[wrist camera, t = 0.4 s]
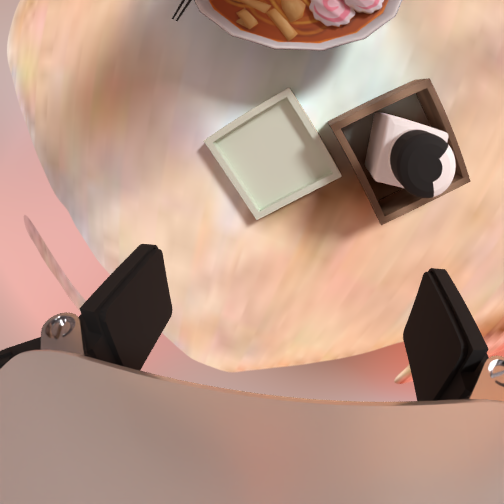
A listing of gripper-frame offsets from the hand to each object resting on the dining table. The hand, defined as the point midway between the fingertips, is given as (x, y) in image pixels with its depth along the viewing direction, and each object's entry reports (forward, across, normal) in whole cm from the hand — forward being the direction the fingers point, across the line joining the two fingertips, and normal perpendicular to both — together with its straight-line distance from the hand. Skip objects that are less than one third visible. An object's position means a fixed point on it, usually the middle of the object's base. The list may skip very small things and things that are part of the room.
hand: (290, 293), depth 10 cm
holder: (+29, -11, -2) cm, 31 cm away
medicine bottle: (+29, -11, -2) cm, 31 cm away
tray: (+29, +4, +1) cm, 29 cm away
